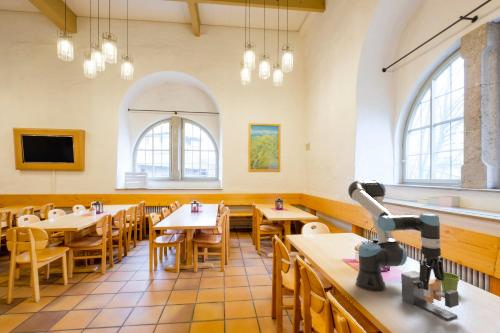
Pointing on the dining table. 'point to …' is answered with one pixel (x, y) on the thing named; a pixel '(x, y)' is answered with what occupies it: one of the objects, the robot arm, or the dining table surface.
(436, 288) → the block
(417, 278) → the block
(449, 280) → the plant pot
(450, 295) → the shaft
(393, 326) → the dining table surface
